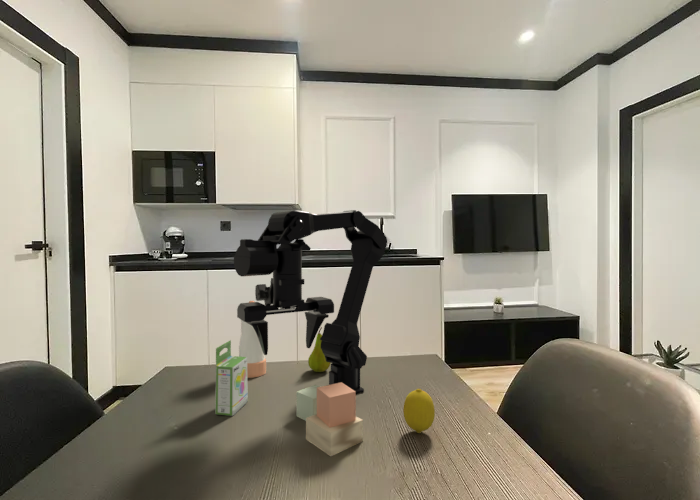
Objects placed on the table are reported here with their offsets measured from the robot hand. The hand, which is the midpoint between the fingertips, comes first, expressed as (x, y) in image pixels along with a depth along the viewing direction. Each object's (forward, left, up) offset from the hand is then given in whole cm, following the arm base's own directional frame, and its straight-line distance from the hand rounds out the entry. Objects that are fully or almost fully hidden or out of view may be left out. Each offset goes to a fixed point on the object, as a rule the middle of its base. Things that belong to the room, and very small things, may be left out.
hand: (287, 351), depth 75 cm
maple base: (-3, +14, -13) cm, 19 cm away
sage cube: (-4, +4, -13) cm, 14 cm away
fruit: (-17, -19, -13) cm, 28 cm away
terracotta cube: (-3, +14, -9) cm, 17 cm away
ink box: (+9, -8, -13) cm, 18 cm away
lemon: (-17, +20, -13) cm, 29 cm away
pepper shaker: (-1, -27, -13) cm, 30 cm away
